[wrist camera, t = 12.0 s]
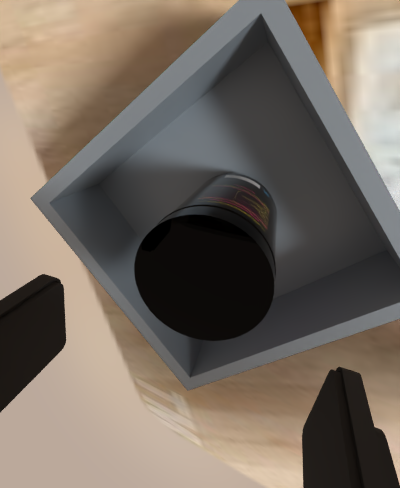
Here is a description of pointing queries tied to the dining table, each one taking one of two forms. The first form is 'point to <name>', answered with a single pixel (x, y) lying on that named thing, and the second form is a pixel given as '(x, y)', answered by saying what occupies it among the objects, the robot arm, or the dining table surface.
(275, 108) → the tote
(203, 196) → the supplement container
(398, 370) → the dining table surface
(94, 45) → the dining table surface
